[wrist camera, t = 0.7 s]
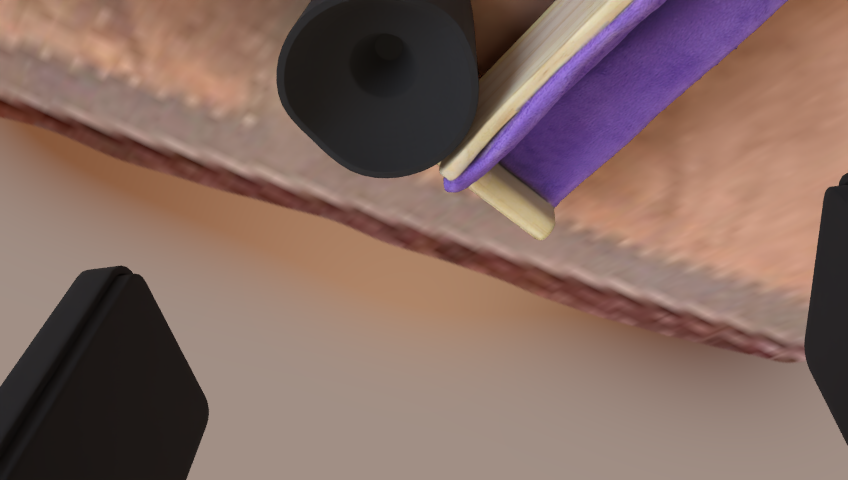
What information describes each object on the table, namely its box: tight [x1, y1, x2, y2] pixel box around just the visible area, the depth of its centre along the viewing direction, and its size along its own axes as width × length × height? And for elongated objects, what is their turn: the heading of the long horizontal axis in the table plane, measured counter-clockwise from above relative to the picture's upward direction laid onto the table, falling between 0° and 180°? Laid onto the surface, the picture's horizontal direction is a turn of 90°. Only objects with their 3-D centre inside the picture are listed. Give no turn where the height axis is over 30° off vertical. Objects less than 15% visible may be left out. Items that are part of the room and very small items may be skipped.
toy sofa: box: [437, 0, 788, 240], centre depth 38 cm, size 21×9×10 cm, turn 141°
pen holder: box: [277, 0, 479, 178], centre depth 38 cm, size 9×9×10 cm
